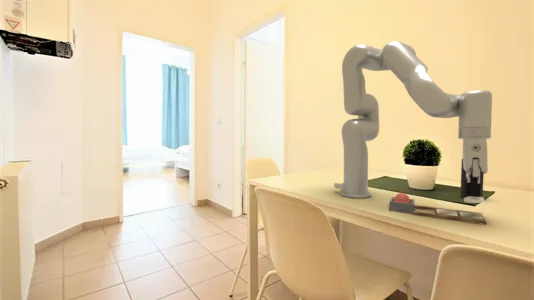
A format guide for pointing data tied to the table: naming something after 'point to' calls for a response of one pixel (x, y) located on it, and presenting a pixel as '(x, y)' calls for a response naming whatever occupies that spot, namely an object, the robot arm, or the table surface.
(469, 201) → the chess piece
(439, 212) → the game board
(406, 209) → the dome housing
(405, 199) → the pop dome
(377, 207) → the table surface
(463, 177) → the bottle
